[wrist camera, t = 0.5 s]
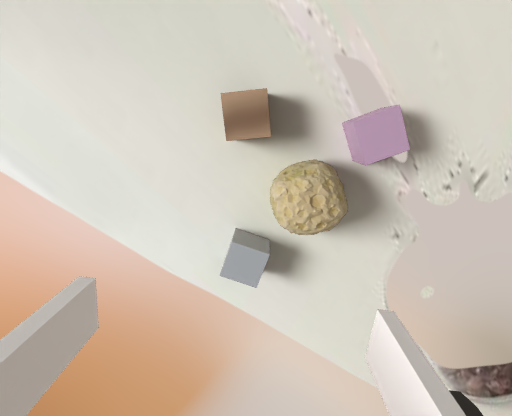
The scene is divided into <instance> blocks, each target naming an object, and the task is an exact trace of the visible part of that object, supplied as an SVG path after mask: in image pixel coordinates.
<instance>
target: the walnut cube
mask: <svg viewBox="0 0 512 416" xmlns="http://www.w3.org/2000/svg"><path fill="white" fill-rule="evenodd" d="M221 100H222V109H223V117H224V125H225V133H226V141H232V140H242V139H252V138H262V137H271V131H270V118H269V106H268V93H267V88H266V89H256V90H247V91H238V92H229V93H221Z"/></svg>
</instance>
